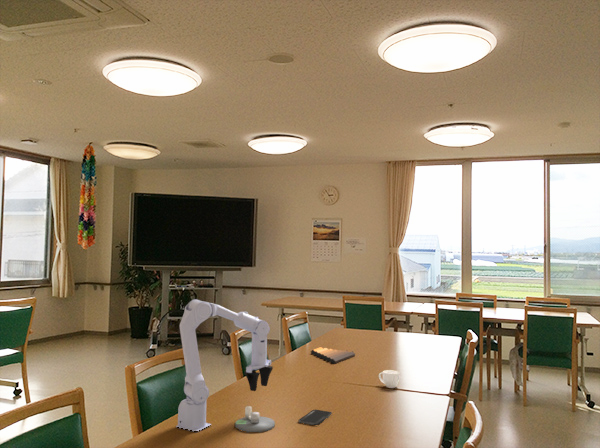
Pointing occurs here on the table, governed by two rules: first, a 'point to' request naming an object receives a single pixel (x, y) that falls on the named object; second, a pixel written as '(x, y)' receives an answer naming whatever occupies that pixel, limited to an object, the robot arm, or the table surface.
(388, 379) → the cup
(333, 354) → the pan flute
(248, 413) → the tuning lever
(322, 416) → the phone
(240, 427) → the dial plate
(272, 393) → the table surface
